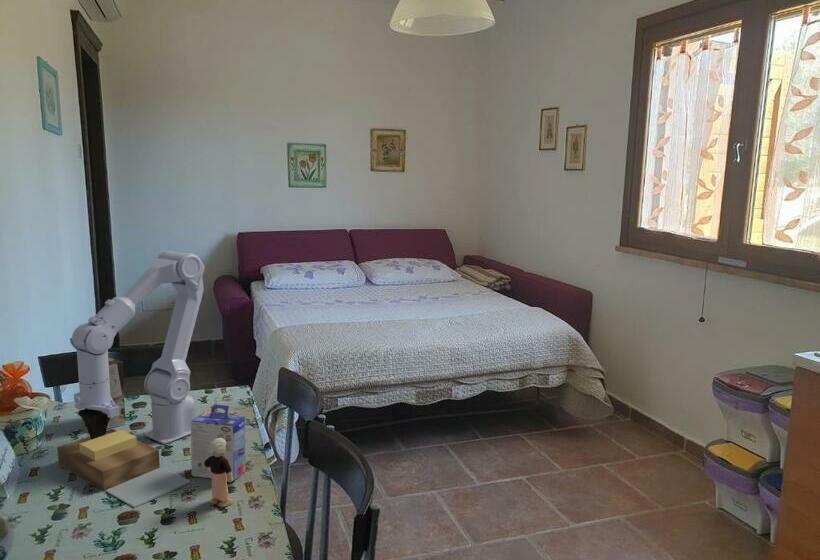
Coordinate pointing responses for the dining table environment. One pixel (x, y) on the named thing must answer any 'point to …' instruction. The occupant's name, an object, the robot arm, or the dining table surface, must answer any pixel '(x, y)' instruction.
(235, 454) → the ink cartridge box
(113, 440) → the pale yellow foam brick
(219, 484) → the grandmother figurine
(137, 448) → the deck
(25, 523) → the dining table surface
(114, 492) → the mat
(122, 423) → the coffee box
